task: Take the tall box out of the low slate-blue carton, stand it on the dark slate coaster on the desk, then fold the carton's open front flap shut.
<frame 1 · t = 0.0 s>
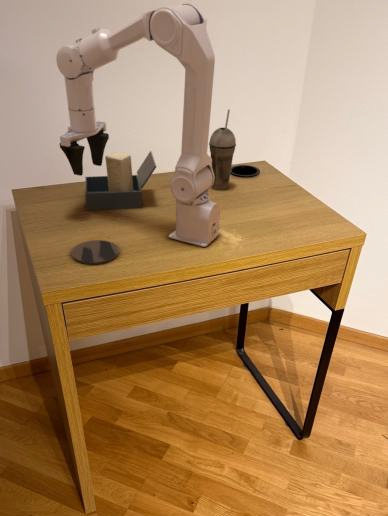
hand: (88, 169, 117), 10 cm above the table, tool pointing down, fingers open, 7 cm apart
beverage cup: (219, 187, 138), on the table
flap: (146, 169, 125), point 8 cm above the table, hinge at 125.0°
coaster: (95, 253, 106), on the table
carton: (113, 200, 129), on the table
box: (121, 199, 129), resting on carton
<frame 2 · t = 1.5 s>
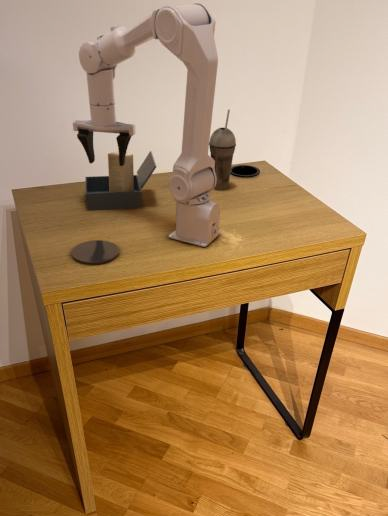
hand: (107, 163, 120), 10 cm above the table, tool pointing down, fingers open, 7 cm apart
box: (121, 198, 129), resting on carton, touching gripper
everything else where it was.
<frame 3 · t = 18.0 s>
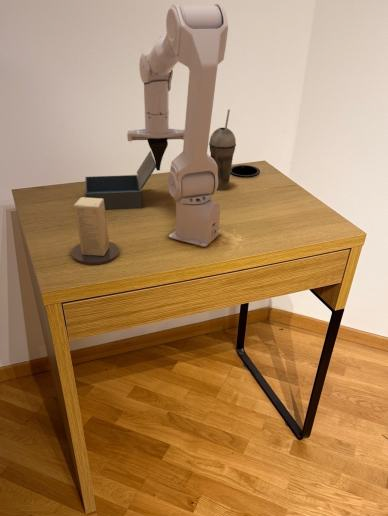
hand: (157, 169, 126), 8 cm above the table, tool pointing down, fingers closed
flap: (146, 169, 125), point 8 cm above the table, hinge at 124.3°, touching gripper
box: (95, 251, 106), resting on coaster
everything else where it was.
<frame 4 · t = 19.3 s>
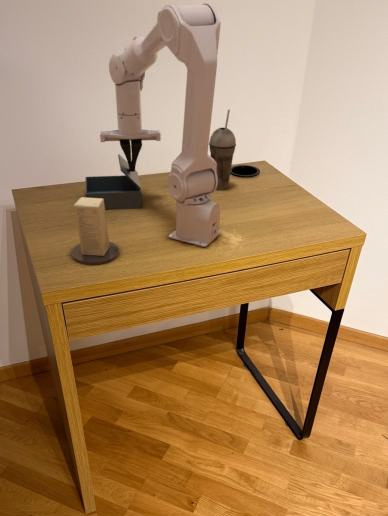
hand: (132, 170, 125), 8 cm above the table, tool pointing down, fingers closed
flap: (129, 171, 125), point 7 cm above the table, hinge at 46.6°, touching gripper
everything else where it was.
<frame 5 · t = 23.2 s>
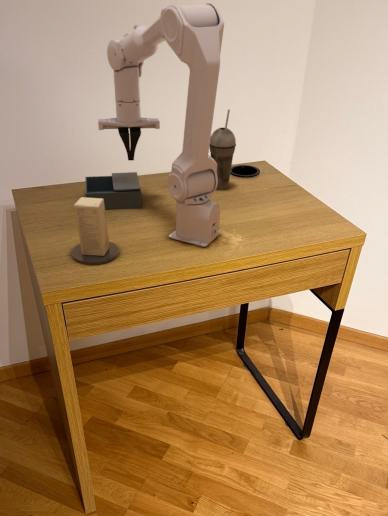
hand: (130, 159, 123), 10 cm above the table, tool pointing down, fingers closed
flap: (125, 181, 126), point 5 cm above the table, hinge at -0.5°
everything else where it was.
at the end: box inside the target area on the coaster (0.0 cm from its centre), point 0.4 cm above the coaster's base; box tilted 0°; flap at +0° (first picture: +125°) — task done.
